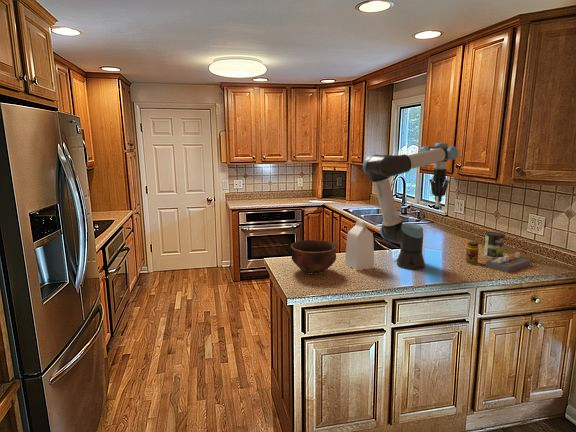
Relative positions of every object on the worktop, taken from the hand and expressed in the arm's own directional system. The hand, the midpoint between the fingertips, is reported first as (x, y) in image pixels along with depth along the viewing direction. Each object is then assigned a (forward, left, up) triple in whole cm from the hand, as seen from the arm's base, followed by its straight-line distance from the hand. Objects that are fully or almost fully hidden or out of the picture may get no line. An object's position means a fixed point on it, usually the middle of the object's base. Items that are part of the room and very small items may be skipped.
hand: (437, 206), depth 232 cm
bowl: (-87, +12, -30) cm, 93 cm away
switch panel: (+9, -41, -29) cm, 51 cm away
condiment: (-2, -26, -30) cm, 39 cm away
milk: (-60, +5, -30) cm, 67 cm away
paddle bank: (+9, -41, -26) cm, 49 cm away
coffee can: (+21, -26, -30) cm, 45 cm away
